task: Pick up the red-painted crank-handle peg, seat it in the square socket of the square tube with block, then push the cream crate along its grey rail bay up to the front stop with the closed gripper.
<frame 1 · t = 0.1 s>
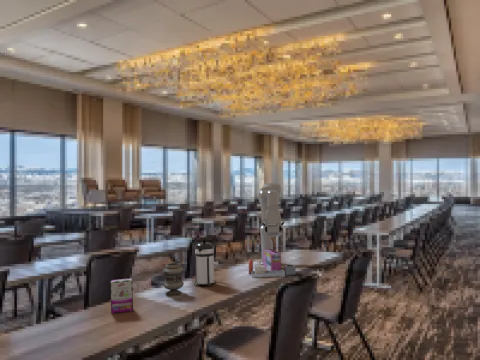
hand: (273, 232, 281), 31 cm above the table, fingers open, 9 cm apart
gum box: (271, 269, 303), on the table
coffee press: (205, 284, 261), on the table
square tube with block: (289, 274, 286), on the table
bay: (268, 275, 282), on the table
handle peg: (250, 273, 289), on the table
apothecary jar: (173, 293, 240), on the table
crate: (259, 270, 282), point 4 cm above the table, slide at 0.0 cm
candy bar box: (122, 311, 208), on the table
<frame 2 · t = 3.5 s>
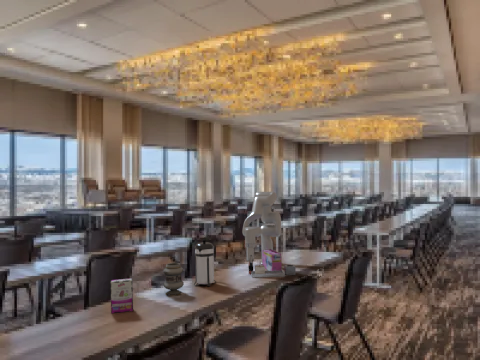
hand: (250, 270, 289), 3 cm above the table, fingers closed on handle peg, 3 cm apart
handle peg: (250, 273, 289), on the table, touching gripper
everything else where it was.
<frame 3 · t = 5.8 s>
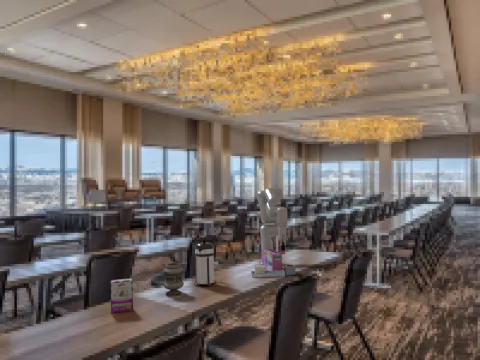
hand: (282, 250, 286), 17 cm above the table, fingers closed on handle peg, 3 cm apart
handle peg: (282, 253, 286), point 15 cm above the table, touching gripper
everything else where it was.
when the fingers open (7 cm above the table, at t = 8.4 s): handle peg drops 4 cm, resting in square tube with block.
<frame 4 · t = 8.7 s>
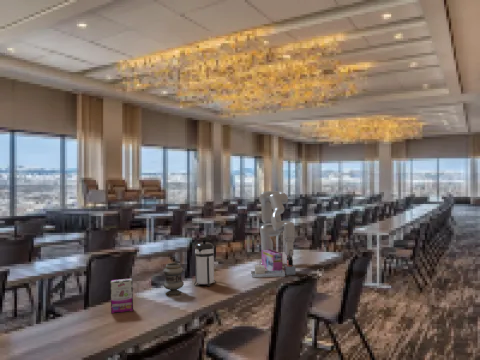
hand: (289, 264, 286), 7 cm above the table, fingers open, 6 cm apart
handle peg: (289, 273, 286), resting in square tube with block
everything else where it was.
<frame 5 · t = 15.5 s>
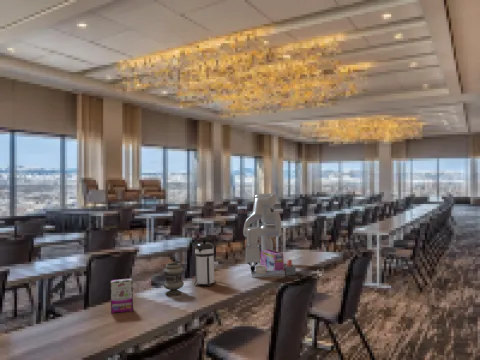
hand: (252, 271, 282), 3 cm above the table, fingers closed
crate: (260, 270, 282), point 4 cm above the table, slide at 0.8 cm, touching gripper
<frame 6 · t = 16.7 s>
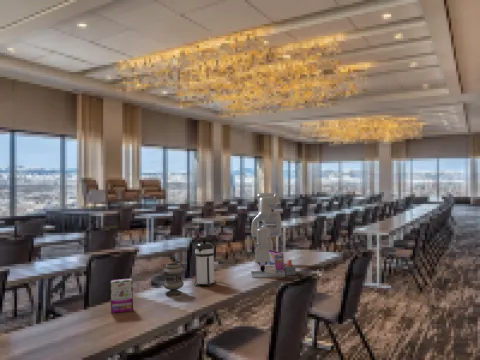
hand: (262, 271, 282), 3 cm above the table, fingers closed
crate: (270, 270, 282), point 4 cm above the table, slide at 7.7 cm, touching gripper
everything else where it was.
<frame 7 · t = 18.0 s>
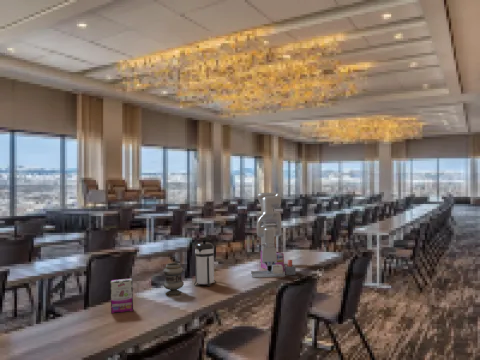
hand: (269, 271, 282), 3 cm above the table, fingers closed
crate: (277, 270, 282), point 4 cm above the table, slide at 12.7 cm, touching gripper
everything else where it was.
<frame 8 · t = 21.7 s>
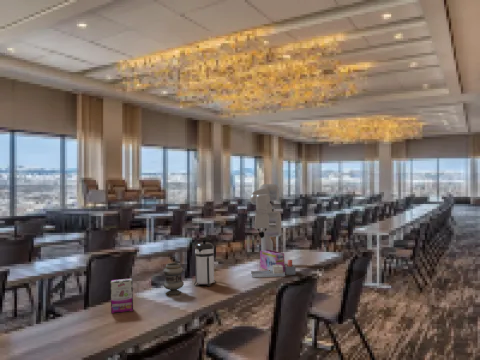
hand: (262, 237, 282), 27 cm above the table, fingers closed
crate: (277, 270, 282), point 4 cm above the table, slide at 12.8 cm, touching bay
at the end: handle peg 0.1 cm off-centre on the square tube with block, point 0.0 cm above the square tube with block's base; crate slide at 12.8 cm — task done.
